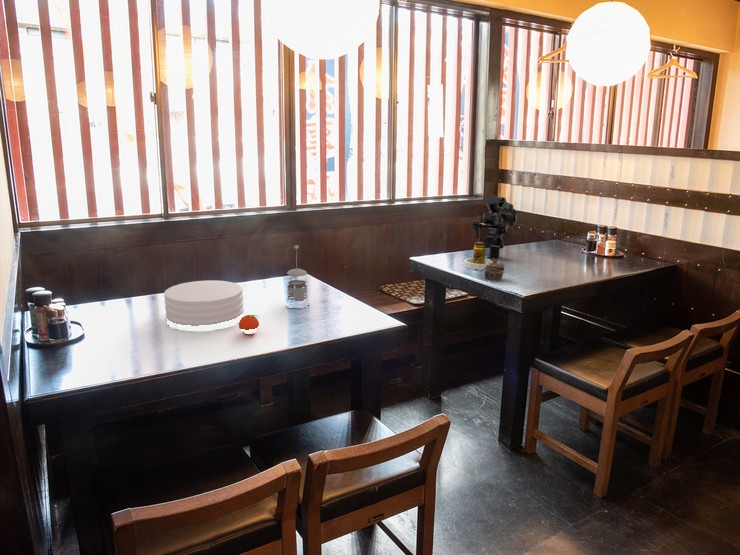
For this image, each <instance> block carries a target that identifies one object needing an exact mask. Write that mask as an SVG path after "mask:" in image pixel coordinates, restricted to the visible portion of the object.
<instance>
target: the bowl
mask: <svg viewBox="0 0 740 555" xmlns="http://www.w3.org/2000/svg"><path fill="white" fill-rule="evenodd" d="M490 260H491V259H488V258H487V257H485V263H486V264H487V263H489V262H490ZM471 262H473V257H468V258H465V259H464V260H463V266H464V268H467V269H469V268H470V269H469V270H474V269H477V270H476V271H484V268H485V267H486V264H475V263H471Z"/></svg>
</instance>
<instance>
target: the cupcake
mask: <svg viewBox="0 0 740 555" xmlns="http://www.w3.org/2000/svg"><path fill="white" fill-rule="evenodd" d="M483 271H484V279H485V278H486V280H487V279H488V280H487V281H494V280H497V281H501V280H502V279H503V277H504V276H503V275H504V272H505V265H504V263H503V262H502V259H501V258H500V259H494V258H493V259H490V262H489V263H487V264H486V267H485V268H484V270H483Z"/></svg>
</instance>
